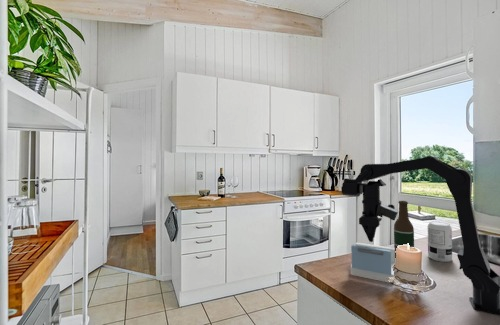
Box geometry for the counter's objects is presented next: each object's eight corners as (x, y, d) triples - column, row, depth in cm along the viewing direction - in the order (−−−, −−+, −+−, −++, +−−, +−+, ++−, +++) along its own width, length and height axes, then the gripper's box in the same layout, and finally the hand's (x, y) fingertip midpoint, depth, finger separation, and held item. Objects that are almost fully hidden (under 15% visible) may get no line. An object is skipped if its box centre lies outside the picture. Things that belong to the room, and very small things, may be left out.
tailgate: (391, 276, 84) (390, 252, 84) (351, 268, 91) (350, 246, 91) (391, 273, 86) (390, 250, 86) (352, 266, 93) (351, 244, 93)
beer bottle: (416, 254, 112) (415, 200, 112) (412, 259, 106) (411, 203, 106) (396, 250, 117) (395, 199, 117) (392, 255, 111) (391, 201, 111)
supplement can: (424, 254, 111) (423, 221, 111) (444, 255, 110) (443, 221, 110) (435, 262, 103) (434, 225, 103) (457, 263, 102) (456, 226, 102)
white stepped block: (393, 283, 86) (393, 260, 86) (350, 274, 93) (350, 253, 93) (395, 268, 98) (394, 248, 98) (356, 261, 105) (356, 242, 105)
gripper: (395, 202, 81) (396, 251, 81) (397, 195, 97) (397, 236, 97) (358, 200, 87) (359, 245, 87) (365, 194, 102) (366, 232, 103)
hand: (371, 239), depth 93 cm, fingers open, 6 cm apart
